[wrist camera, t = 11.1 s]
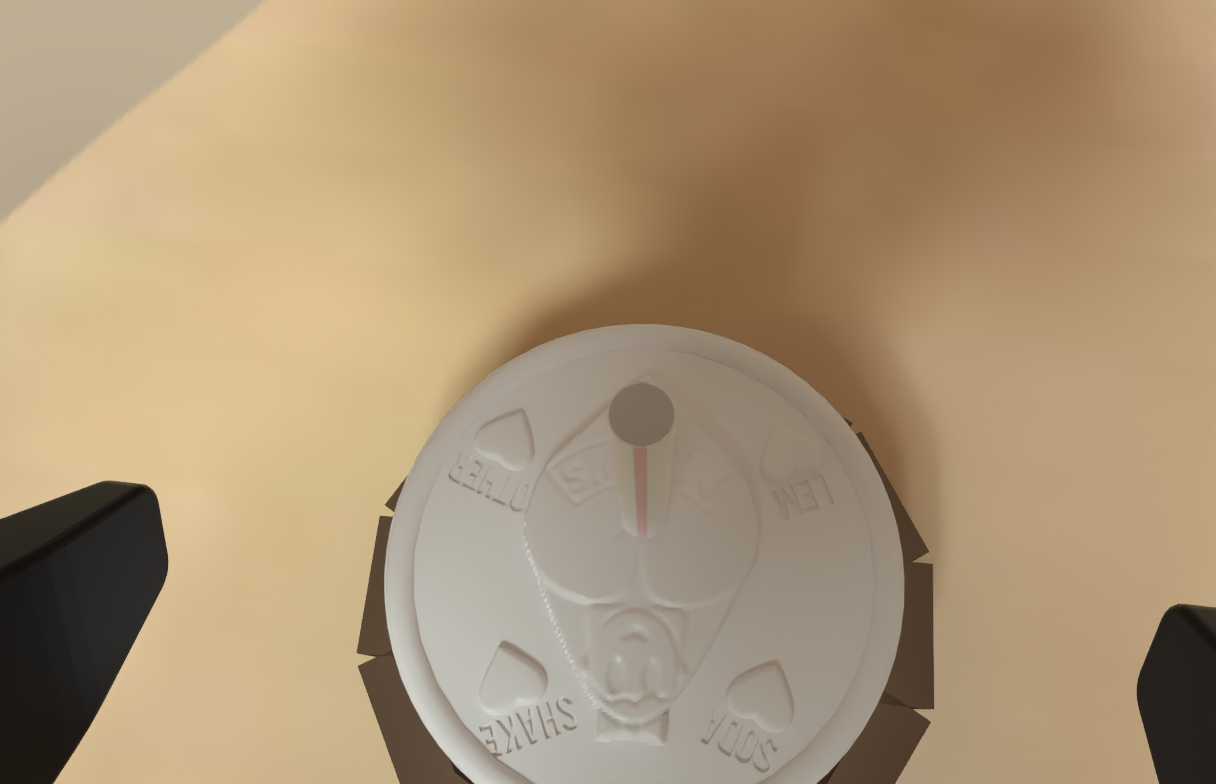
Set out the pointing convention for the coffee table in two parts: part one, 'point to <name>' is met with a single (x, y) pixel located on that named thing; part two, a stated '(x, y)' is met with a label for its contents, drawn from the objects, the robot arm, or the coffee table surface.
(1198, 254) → the coffee table surface
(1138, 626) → the coffee table surface
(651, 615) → the smoothie
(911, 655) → the bowl
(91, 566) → the robot arm
